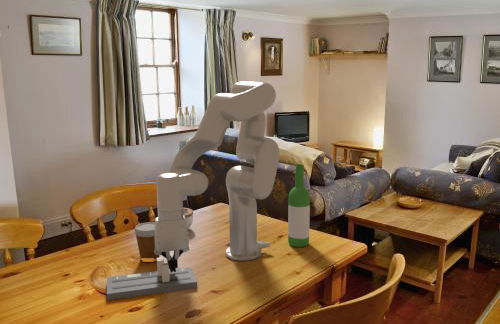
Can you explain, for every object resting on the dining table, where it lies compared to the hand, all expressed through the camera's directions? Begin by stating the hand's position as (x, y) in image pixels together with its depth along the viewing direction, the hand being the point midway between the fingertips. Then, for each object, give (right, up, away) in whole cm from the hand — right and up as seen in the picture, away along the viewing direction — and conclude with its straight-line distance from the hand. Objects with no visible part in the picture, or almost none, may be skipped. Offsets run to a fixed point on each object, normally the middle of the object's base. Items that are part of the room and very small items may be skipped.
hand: (172, 270), depth 147 cm
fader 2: (-1, -2, -5) cm, 5 cm away
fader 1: (-4, -1, -1) cm, 4 cm away
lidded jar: (-4, +6, +44) cm, 45 cm away
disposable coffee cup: (-10, 0, +16) cm, 19 cm away
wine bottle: (+42, +3, +29) cm, 51 cm away
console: (-6, -4, -3) cm, 8 cm away
